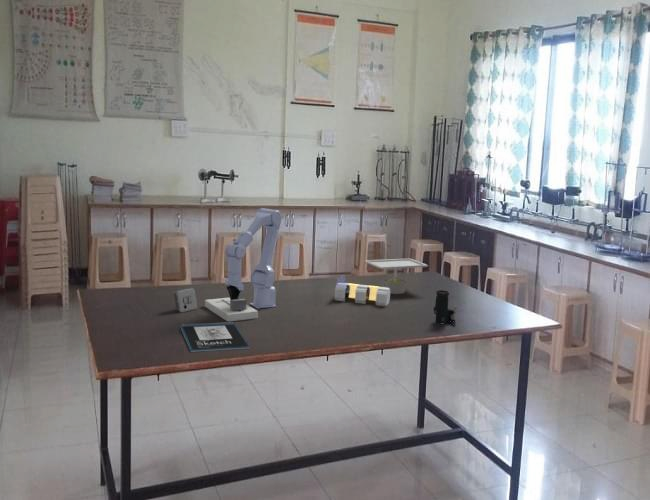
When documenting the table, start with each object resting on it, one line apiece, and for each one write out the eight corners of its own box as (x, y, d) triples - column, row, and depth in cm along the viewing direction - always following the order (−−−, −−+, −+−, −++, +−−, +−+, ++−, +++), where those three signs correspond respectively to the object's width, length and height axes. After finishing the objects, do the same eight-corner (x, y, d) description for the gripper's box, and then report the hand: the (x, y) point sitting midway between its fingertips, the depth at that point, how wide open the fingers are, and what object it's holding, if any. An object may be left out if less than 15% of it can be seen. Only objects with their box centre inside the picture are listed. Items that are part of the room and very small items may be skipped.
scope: (459, 292, 293) (444, 295, 287) (456, 323, 296) (441, 326, 289) (445, 288, 299) (429, 290, 293) (442, 318, 302) (427, 321, 295)
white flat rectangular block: (233, 303, 308) (234, 296, 307) (258, 318, 287) (258, 311, 286) (204, 306, 301) (205, 299, 300) (227, 321, 280) (227, 314, 279)
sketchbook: (190, 353, 242) (190, 348, 241) (180, 328, 269) (180, 323, 269) (250, 349, 249) (250, 344, 248) (233, 325, 277) (233, 320, 276)
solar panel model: (408, 285, 360) (410, 258, 358) (425, 293, 345) (428, 265, 342) (362, 288, 349) (364, 260, 346) (378, 297, 333) (380, 267, 331)
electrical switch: (180, 313, 289) (179, 291, 287) (173, 311, 292) (172, 290, 291) (197, 309, 296) (196, 288, 295) (190, 308, 299) (189, 287, 298)
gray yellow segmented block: (334, 301, 322) (335, 274, 320) (339, 296, 332) (340, 270, 330) (385, 307, 316) (387, 280, 314) (389, 302, 326) (391, 275, 324)
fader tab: (243, 307, 290) (243, 298, 289) (246, 309, 287) (246, 299, 287) (230, 308, 287) (230, 299, 286) (233, 310, 284) (233, 301, 284)
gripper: (219, 269, 292) (218, 299, 295) (233, 276, 280) (232, 308, 283) (234, 267, 296) (233, 298, 298) (248, 275, 284) (247, 306, 286)
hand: (233, 302), depth 291 cm, fingers closed
